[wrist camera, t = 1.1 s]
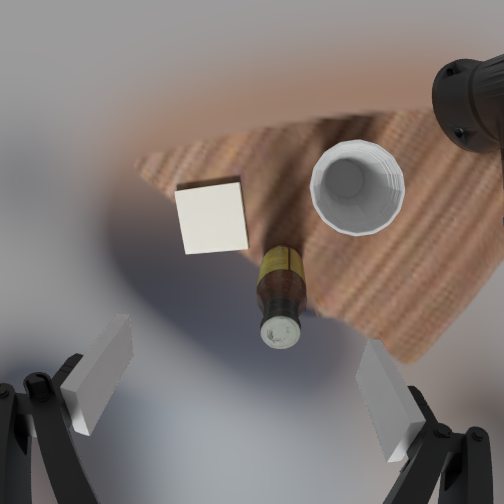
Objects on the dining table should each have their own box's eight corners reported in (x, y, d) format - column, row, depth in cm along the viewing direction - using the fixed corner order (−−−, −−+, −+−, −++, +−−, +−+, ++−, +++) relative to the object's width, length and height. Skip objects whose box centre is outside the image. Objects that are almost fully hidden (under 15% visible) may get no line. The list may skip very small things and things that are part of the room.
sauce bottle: (257, 272, 51) (234, 345, 32) (270, 236, 48) (254, 294, 30) (295, 287, 50) (293, 365, 32) (311, 252, 48) (319, 318, 30)
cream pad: (240, 181, 46) (238, 182, 45) (249, 246, 49) (248, 248, 48) (176, 190, 48) (174, 191, 47) (187, 252, 51) (185, 254, 50)
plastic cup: (306, 140, 43) (309, 137, 32) (379, 143, 42) (406, 143, 31) (306, 214, 47) (309, 236, 35) (377, 216, 45) (401, 238, 34)
